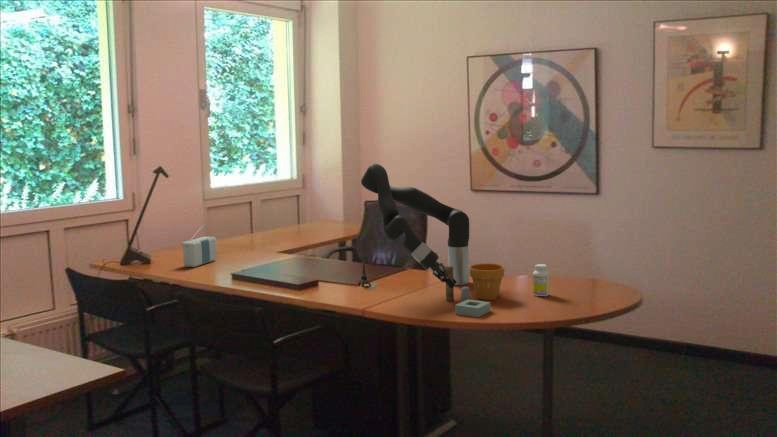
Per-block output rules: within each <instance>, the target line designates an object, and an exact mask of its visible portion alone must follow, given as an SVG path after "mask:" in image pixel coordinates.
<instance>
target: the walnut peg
mask: <svg viewBox="0 0 777 437" xmlns="http://www.w3.org/2000/svg"><path fill="white" fill-rule="evenodd" d="M445 268H446V275H447V276H448V277H449V279H450V280H451V281H452V282H453V283H454V281H453V267H452V266H448V265H447V266H445ZM454 290H455V286H454V287H453V288H450V287H449V286H448V285H447V284H446V283H445V301H446V302H454V300H455V297H454V296H455V295H454V294H455V291H454Z"/></svg>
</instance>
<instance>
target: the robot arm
mask: <svg viewBox="0 0 777 437" xmlns="http://www.w3.org/2000/svg"><path fill="white" fill-rule="evenodd" d="M360 183H361V184H360V185H361V186H363V188H365V189H367V190H368V191H369V192H371V193H374V194H377V204H378V209H379V211H380V213H381V216H382V222H383V223H382V224H383V225H382V226H383V231H384V232H383V233H384V234H385V236H386V237H387V238H388V239H389V240H392V241H396V240H398V239H399V238H400V237H401V236H402V235H403V234H404V235H405V238H404V240H403V242H402V246H403V248H404V249H405V250H406V251H407V252H409V254H411V256H412V257H413V259H415V260H416V261H417V262H418V263H419V264H420V265H421V266H422V267H423V268H424V269H425V270H426V271H428V270H429V269H431V270H432V275H434V276H435V277H436V278H437V279H438V280H439V281H441V283H445V285H446V284H447V285H448V286H449V287H450V288H453V287H454V288H455V286H464V285H468V284H469V282H470V262H469V241H470V218H469V216H468V215H467V214H466V212H464V211H463V210H462V209H459V208H458V209H457V208H454V207H452V206H449V205H446V204H444V203H443V202H440V201H439V200H437V199H436V198H435V197H433V196H431V195H429V194H428V193H426V192H424V191H422V190H421V189H418V188H416V187H414V186H413V187H412V186H401V187H400V186H399V187H397V186H396V187H394V186H391V185H390V182H389V175H388V172H387V170H386V168H384V166H382V165H381V164H378V163H371V164H370V165H369V166H368V167H367V169H366V171H365V172H364V174H363V176H362V178H361V180H360ZM396 203H399V205H402V206H405V207H406V208H408V209H410V210H412V211H415V212H417V213H420V214H422V215H425V216H429V217H432V218H434V219H435V220H436V219H437V220H438V221H440V222H441V223H443V224H445V226H448V240H447V266H452V267H453V281H454V283H453V282H452V281H451V280H450V279H449V277H448V276H447V275H446V268H445V267H446V266H445V265H444V263H442V262H438V260H439V258H440V256H438V254H436V253H435V251H433V250H432V248H430V247H429V246H428V244H426V243H425V242H424V241H423V240H421V238H419V236H417V234H416V233H415V232H414V230H413V228H412V227H411V225H410V222H409V221H408V219H407V218H405V217H404V216H403V215H400V211H399V209H398V207H397V205H396Z"/></svg>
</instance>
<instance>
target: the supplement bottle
mask: <svg viewBox="0 0 777 437" xmlns="http://www.w3.org/2000/svg"><path fill="white" fill-rule="evenodd" d="M534 266H535V267H534V269H535V270H534V271H533V272H532V295H533V296H534V295H535V297H538V296H545V297H547V296H550V272H549V271H548V270H547V268H548V267H547V266H548V265H547V264H544V263H543V264H542V263H541V264H540V263H538V264H535V265H534Z"/></svg>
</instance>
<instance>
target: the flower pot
mask: <svg viewBox="0 0 777 437" xmlns="http://www.w3.org/2000/svg"><path fill="white" fill-rule="evenodd" d="M469 277H470V278H472V283H473V287H474V292H475V297H476V299H479V300H482V301H483V300H484V301H489V300H490V299H492V300H496V299H498V296H499V293H500V289H501V288H500V287H501V283H502V280H503V278H504V277H505V266H504V265H501V264H499V263H476V264H472V265H469Z"/></svg>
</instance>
